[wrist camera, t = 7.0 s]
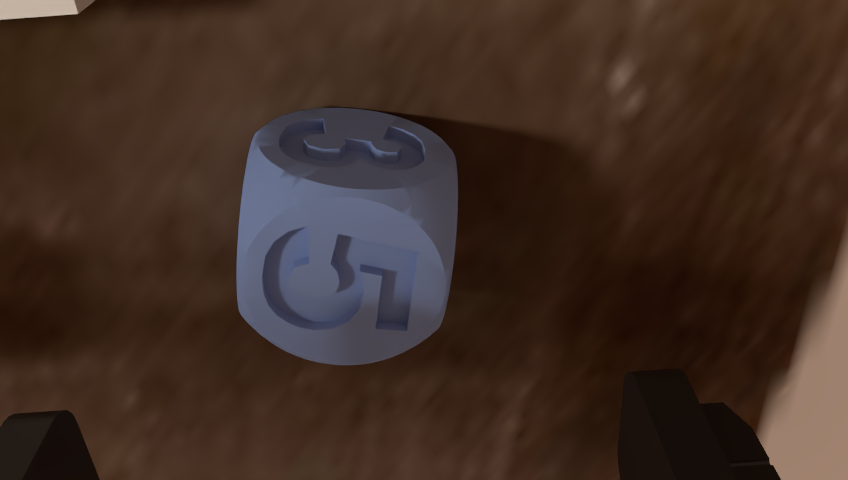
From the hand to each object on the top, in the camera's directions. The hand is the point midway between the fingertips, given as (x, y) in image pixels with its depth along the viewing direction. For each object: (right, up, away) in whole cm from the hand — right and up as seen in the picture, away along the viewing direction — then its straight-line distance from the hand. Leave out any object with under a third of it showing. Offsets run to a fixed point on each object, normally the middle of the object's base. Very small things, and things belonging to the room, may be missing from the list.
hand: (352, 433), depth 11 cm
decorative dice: (-1, +4, +7) cm, 8 cm away
